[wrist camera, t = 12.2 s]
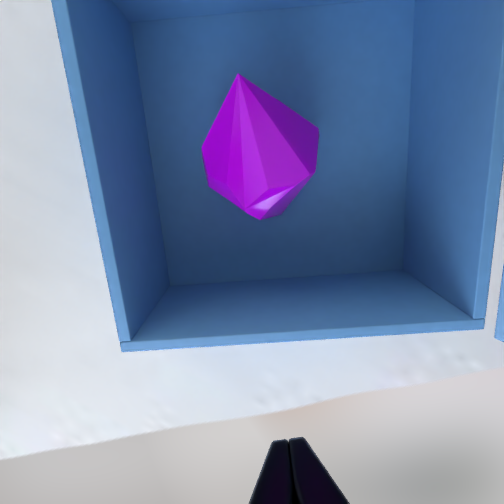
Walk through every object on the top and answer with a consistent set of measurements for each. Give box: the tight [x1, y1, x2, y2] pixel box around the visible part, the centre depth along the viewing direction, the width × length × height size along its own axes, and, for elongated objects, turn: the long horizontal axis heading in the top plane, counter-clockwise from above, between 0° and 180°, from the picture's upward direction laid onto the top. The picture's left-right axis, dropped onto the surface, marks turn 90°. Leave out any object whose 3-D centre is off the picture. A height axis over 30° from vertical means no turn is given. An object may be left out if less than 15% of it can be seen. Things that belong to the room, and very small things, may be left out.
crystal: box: [201, 73, 320, 220], centre depth 16 cm, size 5×5×5 cm
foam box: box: [51, 0, 504, 352], centre depth 15 cm, size 15×15×7 cm
